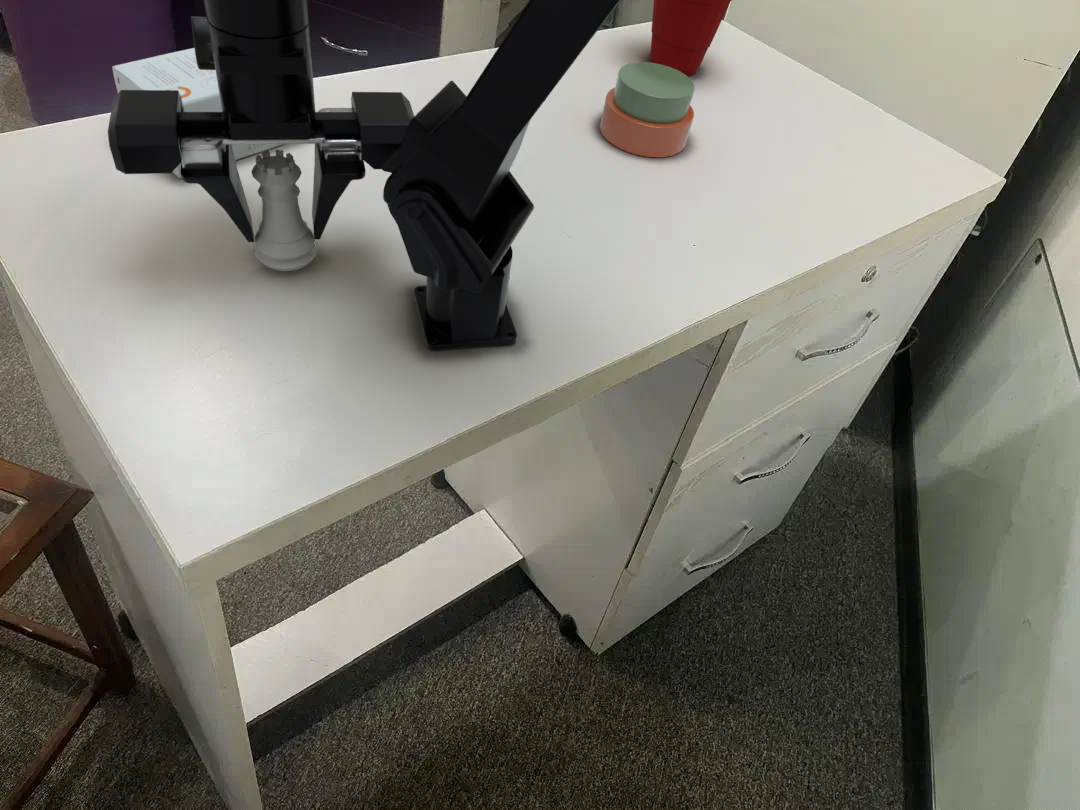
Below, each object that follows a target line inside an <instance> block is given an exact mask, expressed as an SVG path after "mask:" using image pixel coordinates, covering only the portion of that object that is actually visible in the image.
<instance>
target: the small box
mask: <svg viewBox="0 0 1080 810" xmlns="http://www.w3.org/2000/svg"><path fill="white" fill-rule="evenodd" d="M111 68H112V75H113V79H114V83H115V87H116V91H117V92H116V93H117V94H118V93H119V92H120V90H178V91H179V93H180V95H181V98H182V103H183V108H184V112H222V107H221V100H220V94H219V88H218V82H217V76H216V70H200V69H199V68H198V66H197V62H196V55H195V49H194V47H192V48H187V49H182V50H178V51H177V50H176V51H174V52H169V53H164V54H159V55H156V56H151V57H147V58H142V59H138V60H133V61H130V62H125V63H120V64H116V65H112V66H111ZM282 145H283V144H232V149H233V154H234V158H235V161H237V160H240V159H243V158H246V157H249V156H252V155H254V154H258V153H262V152H264V151H267V150H270V149H273V148H275V147H279V146H282ZM180 171H181V163H180V164H179V165H178V166H177V167H176V168H175V169H174V170H173V172H172V174H174V175H175V176H177V177H178V178H179V179H182V178H181V173H180Z"/></svg>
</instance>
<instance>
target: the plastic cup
mask: <svg viewBox="0 0 1080 810" xmlns="http://www.w3.org/2000/svg"><path fill="white" fill-rule="evenodd" d="M732 1H733V0H653V9H652V18H651V41H650V51H649V57H650V63H656V64H661V65H665V66H668V67H671V68H674V69H676V70H678V71H680V72H682V73H683V74H685V75H686V76H688V77H692V76H693V75H696V74H697V71H698V69H700V67H701V64H702V63H703V60H704V58H705V55H706V53H707V51H708V49H709V48H710V47H711V45H712V42H713V40H714V38H715V36H716V34H717V32H718V29H719V27H720V25H721V23H722V21H723V19H724V17H725V14H726V12H727V10H728V7H730V3H731V2H732Z"/></svg>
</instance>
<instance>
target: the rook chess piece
mask: <svg viewBox="0 0 1080 810" xmlns="http://www.w3.org/2000/svg"><path fill="white" fill-rule="evenodd" d="M254 160H255V165H254V166H253V167H252V170H251V175H252V178H253V179H255V180H256V182H258V183H259V184H260V185H259V187H258V189H257V193H258V196H259V197H260V198H261V203H262V207H261V208H262V211H261V212H262V213H261V217H262V218H261V222H260V223H259V225H258V229H257V230H256V232H255V234H254V242H253V243H254V246H255V249H254V254H255V257H256V258H257V260H259V261H260V262H261V263H262V264H263V265H264V266H265V267H267V268H269V269H272V270H274V271H278V272H279V271H280V272H291V271H298V270H300V269H303V268H305V267H307V265H309V264H310V263H311V262H312V261H313V260H314V258H315V257H316V255H317V252H318V249H317V245H316V243H315V242H316V240H315V239H314V232H313V230H312V229H311V228H310V227H309V226H308V223H307V221H306V220H304V219H303V216H302V213H301V209H300V206H299V196H300V193H301V190H300V187H299V186H298V185H297V184H296V183H297V182H298V181H299V179H300V178H301V175H302V169H301V168H300V166H299V165H298V164H297V163H296V161H295V159H294V155H293V154H292V153H290V152H288V153H286V154H285V155H284V150H282V149H275V155H271V152H270V149H267V150H264V151H261V155H258V154H257V155H256V156H255V159H254Z"/></svg>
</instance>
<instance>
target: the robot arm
mask: <svg viewBox="0 0 1080 810" xmlns="http://www.w3.org/2000/svg"><path fill="white" fill-rule="evenodd" d="M620 1H621V0H528V2H527V3H526V5H525V6H524V8H523V9H522V11H521V12H520V14H519V15H518V17H517V18H516V20H515V21H514V23H513V24H512V26H511V28H510V29H509V31H508V32H507V33H506V35H505V37H504V38H503V40H502V41H501V43H500V44H499V46H498V48H497V49H496V51H495V52H494V53H493V55H492V57H491V58H490V60H489V61H488V63H487V64H486V66H485V67H484V69H483V70H482V72H481V73H480V75H479V77H478V78H477V80H476V82H475V83H474V84H473V86H472V88H471V89H470V90H469V92H468V94H467V95H466V94H465V93H464V91H462V89H461V88H460V87H459V86H458V85H457V84H456V83H455V81H454V80H449V82H448V83H446V84H445V85H444V86H443V88H442V89H441V90H440V91H439V92H437V93H436V94H435V95H434V96H433V98H431V99H430V100H429V101H428V102H427V103H426V104H425V105H424V106H423V107H422V108H421V109H420V110H419V111H418V112H417V113H416V114H414V110H413V108H412V104H411V102H410V100H409V99H408V98H407V96H406V95H404V94H403V92H402V91H352V92H351V98H350V102H351V103H350V105H351V107H323V108H320V109H319V110H318V111H316V101H315V87H314V76H313V75H314V74H313V60H312V49H311V35H310V34H311V33H310V21H309V7H308V0H203V2H204V3H203V4H204V9H205V14H206V15H205V16H190V22H191V24H190V25H191V31H192V40H193V41H192V42H193V48H194V49H195V55H196V62H197V66H198V68H199V69H200V70H216V76H217V82H218V88H219V94H220V100H221V107H222V112H184V108H183V103H182V98H181V95H180V93H179V91H178V90H120V92H119V93H118V92H117V94H116V96H114V98H113V99H112V103H111V109H110V115H109V121H108V127H107V138H108V147H109V150H110V153H111V156H112V160H113V163H114V167H115V170H117V171H118V172H121V173H123V174H124V175H149V174H156V175H157V174H173V170H174V169H175V168H176V167H177V166H178V165H179V164H180V163H181V171H180V173H181V178H180V179H181V180H182V181H183V182H184V183H187V184H197V185H199V186H200V187H201V188H203V190H204V191H205V192H206V193H207V194H208V195H209V196H210V197H211V199H213V200H214V201H215V202H216V203H217V204H218V205H219V206H220V207H221V209H223V211H224V212H225V213H226V214H227V216H228V217H229V218H230V220H231V221H232V222H233V224H234V225H235V226H236V228H237V229H238V231H239V232H240V233H241V234H242V236H243V237H244V238H245V240H246V241H247V243H255V242H254V238H255V233H254V226H253V220H252V213H251V210H250V207H249V203H248V200H247V197H246V193H245V191H244V187H243V183H242V180H241V177H240V174H239V170H238V167H237V162H236V160H235V158H234V154H233V149H232V144H282V145H311V144H312V145H313V144H314V167H313V168H314V169H313V186H312V187H313V188H312V203H311V204H312V206H311V220H312V229H313V230H312V232H313V235H314V239H315V241H317V240H318V241H319V240H321V238H322V236H323V234H324V231H325V230H326V227H327V224H328V222H329V220H330V218H331V215H332V213H333V211H334V208H335V207H336V204H337V203H338V202H339V200H340V198H341V197H342V196H343V194H344V192H345V191H346V189H347V187H348V186H349V185H350V183H351V182H352V181H358V180H363V179H364V178H365V177H366V166H365V163H366V164H367V165H368V166H369V167H371V168H372V169H373V170H381V171H383V172H386V173H390V175H389V176H388V177H387V179H386V181H385V183H384V187H383V190H382V191H383V194H382V199H383V201H384V203H386V205H387V208H388V211H389V213H390V216H391V217H392V219H393V220H394V222H395V223H396V225H397V227H398V230H399V233H400V236H401V239H402V242H403V245H404V248H405V251H406V253H407V256H408V259H409V262H410V265H411V268H412V270H413V272H414V273H416V274H417V275H421V276H424V277H426V282H425V283H426V285H418V286H416V287H414V289H413V296H414V300H415V304H416V309H417V312H418V316H419V321H420V324H421V329H422V332H423V337H424V340H425V345H426V347H427V349H429V350H431V351H432V350H433V351H438V350H450V349H463V348H476V347H487V346H498V345H499V346H500V345H501V346H502V345H510V344H511V345H513V344H515V343H517V340H518V333H517V330H516V327H515V324H514V322H513V318H512V315H511V313H510V311H509V308H508V305H507V297H508V290H509V283H510V277H511V268H512V263H513V262H512V261H513V246H512V244H513V243H514V241H515V239H516V238H517V236H518V235H519V233H520V232H521V231H522V229H523V227H524V225H525V224H526V222H527V221H528V219H529V218H530V216H531V214H532V213H533V211H534V209H535V205H534V204H533V202H532V200H531V199H530V197H529V196H528V195H527V194H526V192H525V190H524V189H523V188H522V187H521V185H520V184H519V182H518V181H517V179H516V178H515V176H514V175H513V174H512V172H511V171H510V169H511V168H512V166H513V164H514V161H515V159H516V157H517V155H518V153H519V151H520V149H521V147H522V143H523V140H524V137H525V135H526V132H527V129H528V127H529V125H530V122H531V120H532V119H533V117H534V116H535V115H536V113H537V112H538V111H539V109H540V108H541V107H542V105H543V104H544V103H545V101H546V100H547V98H548V97H549V96H550V95H551V94H552V91H553V90H554V89H555V88H556V87H557V85H558V84H559V82H560V81H561V80H562V78H564V76H565V75H566V73H567V72H568V70H569V69H570V68H571V66H572V65H573V64H574V63H575V61H576V60H577V59H578V57H579V56H580V55H581V54H582V52H583V50H584V49H585V48H586V46H588V44H589V42H590V41H591V40H592V39H593V37H594V36H595V34H596V33H597V32H598V31H599V30H600V28H601V27H602V25H603V24H604V23H605V22H606V20H607V19H608V17H609V16H610V15H611V14H612V12H613V11H614V9H615V8H616V6H618V4H619V3H620Z"/></svg>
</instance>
